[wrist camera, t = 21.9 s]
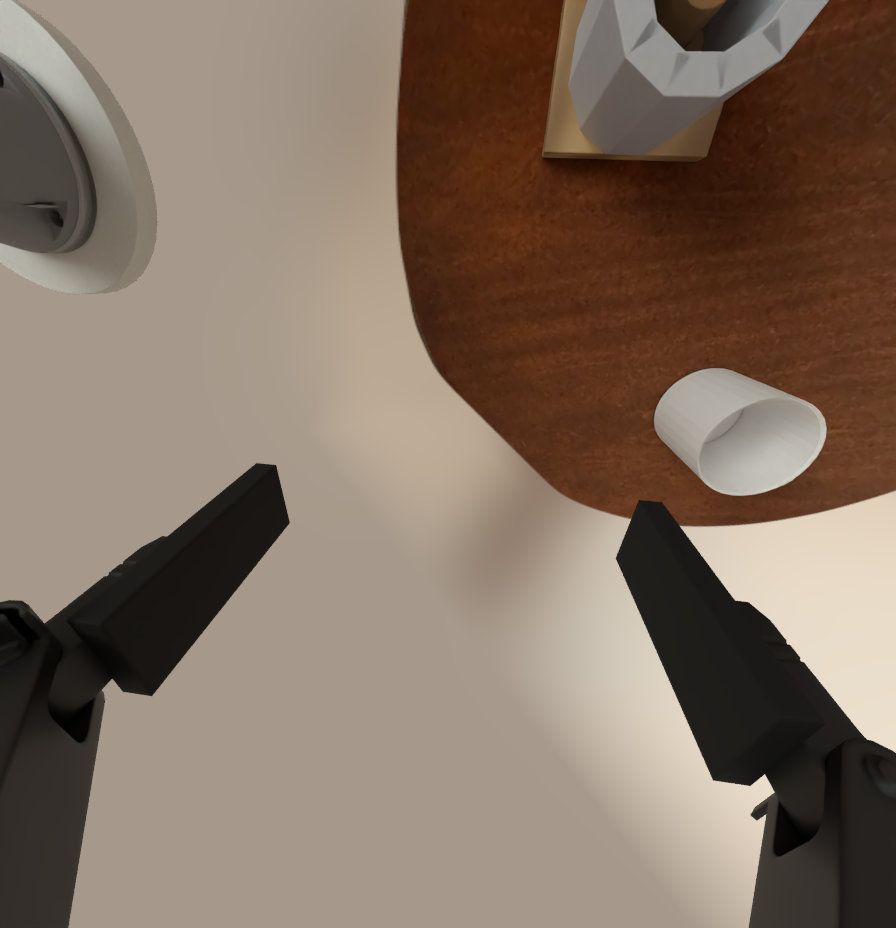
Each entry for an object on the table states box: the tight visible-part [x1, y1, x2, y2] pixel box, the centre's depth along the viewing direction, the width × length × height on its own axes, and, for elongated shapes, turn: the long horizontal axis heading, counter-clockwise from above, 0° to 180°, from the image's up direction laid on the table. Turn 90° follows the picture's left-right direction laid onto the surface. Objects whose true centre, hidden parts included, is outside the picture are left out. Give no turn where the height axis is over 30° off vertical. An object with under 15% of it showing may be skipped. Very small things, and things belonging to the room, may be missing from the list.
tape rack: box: [542, 0, 727, 162], centre depth 20 cm, size 12×10×10 cm
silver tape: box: [569, 0, 829, 155], centre depth 19 cm, size 10×10×10 cm
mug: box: [654, 368, 826, 496], centre depth 33 cm, size 12×9×9 cm
